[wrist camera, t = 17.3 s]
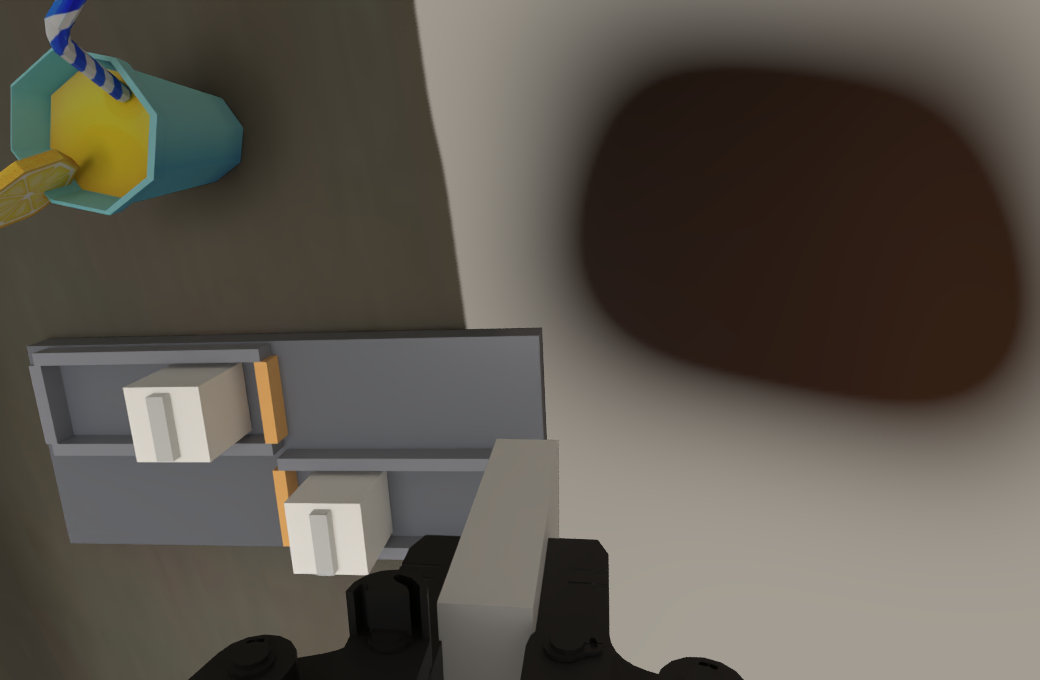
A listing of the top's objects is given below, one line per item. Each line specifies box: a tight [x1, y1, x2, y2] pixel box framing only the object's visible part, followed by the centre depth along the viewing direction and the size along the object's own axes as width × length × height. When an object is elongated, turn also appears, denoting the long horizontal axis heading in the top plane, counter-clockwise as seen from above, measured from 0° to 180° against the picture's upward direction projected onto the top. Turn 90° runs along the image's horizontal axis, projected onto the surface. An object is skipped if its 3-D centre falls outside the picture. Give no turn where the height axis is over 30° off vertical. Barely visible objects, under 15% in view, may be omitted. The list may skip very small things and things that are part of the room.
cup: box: [0, 0, 243, 228], centre depth 36 cm, size 14×8×15 cm, turn 147°
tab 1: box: [123, 362, 252, 462], centre depth 43 cm, size 4×4×6 cm
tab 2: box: [284, 471, 393, 576], centre depth 44 cm, size 4×4×6 cm
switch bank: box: [27, 328, 547, 560], centre depth 46 cm, size 14×33×4 cm, turn 93°
